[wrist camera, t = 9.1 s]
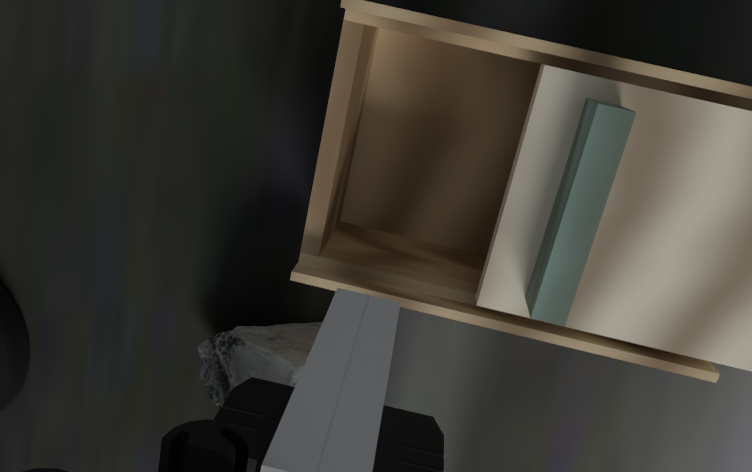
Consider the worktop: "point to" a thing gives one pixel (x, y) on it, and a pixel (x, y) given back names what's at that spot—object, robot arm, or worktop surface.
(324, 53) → the worktop surface
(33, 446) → the worktop surface
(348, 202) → the box
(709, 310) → the cover plate
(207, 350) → the stone
